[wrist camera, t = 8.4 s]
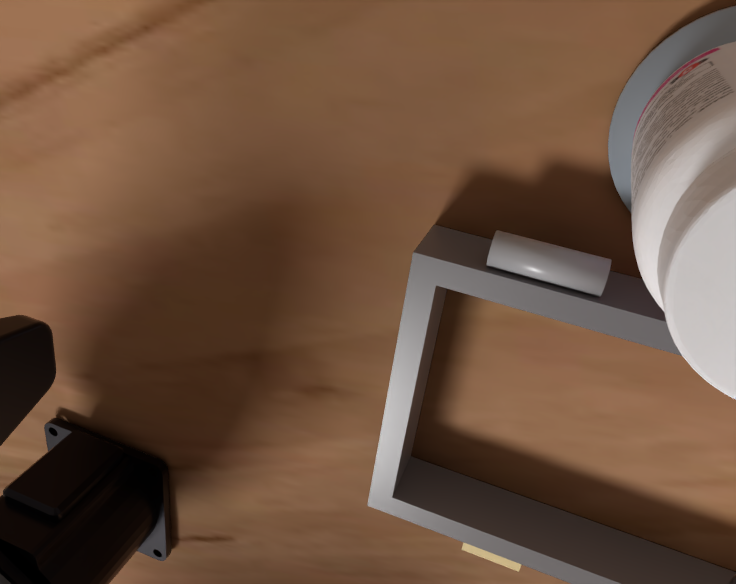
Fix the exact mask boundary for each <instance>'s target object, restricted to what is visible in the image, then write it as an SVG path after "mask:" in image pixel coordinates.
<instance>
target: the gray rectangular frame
mask: <svg viewBox="0 0 736 584" xmlns="http://www.w3.org/2000/svg"><path fill="white" fill-rule="evenodd" d="M611 261H612V260H611V259H608V258H604V257H600V256H596V255H592V254H588V253H584V252H580V251H577V250H573V249H569V248H565V247H561V246H557V245H553V244H549V243H546V242H542V241H538V240H534V239H530V238H526V237H522V236H519V235H515V234H511V233H507V232H503V231H499V230H496V232H495V235H494V238H493V240H491V239H487V238H483V237H480V236H476V235H472V234H468V233H464V232H461V231H457V230H453V229H449V228H445V227H442V226H438V225H433V227H432V228H431V229H430V231H429V232H428V233H427V235H426V236H425V237H424V239H423V240H422V241H421V243H420V244H419V245H418V247H417V248H416V249H415V250H414V252H413V256H412V262H411V267H410V273H409V278H408V284H407V289H406V295H405V301H404V306H403V312H402V317H401V323H400V328H399V334H398V339H397V345H396V350H395V356H394V361H393V367H392V373H391V378H390V384H389V389H388V395H387V400H386V406H385V411H384V417H383V422H382V428H381V433H380V439H379V444H378V450H377V456H376V461H375V467H374V472H373V478H372V483H371V489H370V494H369V500H368V505H367V506H370V507H373V508H375V509H378V510H380V511H383V512H386V513H388V514H391V515H393V516H396V517H399V518H401V519H404V520H407V521H409V522H412V523H414V524H417V525H420V526H422V527H425V528H427V529H430V530H433V531H435V532H438V533H440V534H443V535H446V536H448V537H451V538H454V539H456V540H459V541H461V542H464V543H463V547H462V550H464V551H466V552H469V553H472V554H474V555H477V556H479V557H482V558H485V559H487V560H490V561H492V562H495V563H498V564H500V565H503V566H505V567H508V568H510V569H513V570H516V571H518V572H519V570H520V567H521V565H524V566H527V567H529V568H532V569H535V570H537V571H540V572H542V573H545V574H548V575H550V576H553V577H555V578H558V579H561V580H563V581H566V582H568V583H571V584H728V583H729V582H730V580H731V579H732V578H733V576H734V575H736V572H734V571H731V570H728V569H725V568H723V567H720V566H717V565H714V564H711V563H709V562H706V561H703V560H700V559H697V558H695V557H692V556H689V555H686V554H683V553H681V552H678V551H675V550H672V549H669V548H667V547H664V546H661V545H658V544H655V543H653V542H650V541H647V540H644V539H641V538H639V537H636V536H633V535H630V534H627V533H625V532H622V531H619V530H616V529H613V528H611V527H608V526H605V525H602V524H599V523H597V522H594V521H591V520H588V519H585V518H583V517H580V516H577V515H574V514H571V513H569V512H566V511H563V510H560V509H557V508H555V507H552V506H549V505H546V504H543V503H541V502H538V501H535V500H532V499H529V498H527V497H524V496H521V495H518V494H515V493H513V492H510V491H507V490H504V489H501V488H498V487H496V486H493V485H490V484H487V483H484V482H482V481H479V480H476V479H473V478H470V477H468V476H465V475H462V474H459V473H456V472H454V471H451V470H448V469H445V468H442V467H440V466H437V465H434V464H431V463H428V462H426V461H423V460H420V459H417V458H414V457H412V456H411V453H412V448H413V444H414V439H415V434H416V430H417V425H418V421H419V416H420V411H421V407H422V402H423V398H424V393H425V388H426V384H427V379H428V375H429V370H430V365H431V361H432V356H433V351H434V347H435V342H436V338H437V333H438V328H439V324H440V319H441V315H442V310H443V305H444V301H445V296H446V292H447V289H450V290H454V291H457V292H461V293H464V294H468V295H471V296H475V297H478V298H482V299H485V300H489V301H492V302H496V303H499V304H503V305H506V306H510V307H513V308H517V309H520V310H524V311H527V312H531V313H534V314H538V315H541V316H545V317H548V318H552V319H555V320H559V321H562V322H566V323H569V324H573V325H576V326H580V327H583V328H587V329H590V330H594V331H597V332H601V333H604V334H607V335H611V336H614V337H618V338H621V339H625V340H628V341H632V342H635V343H639V344H642V345H646V346H649V347H653V348H656V349H660V350H663V351H667V352H670V353H674V354H677V355H681V353H680V351H679V350H678V348H677V346H676V345H675V343H674V341H673V338H672V336H671V334H670V331H669V328H668V325H667V322H666V318H665V313H664V311H663V310H662V309H661V308H660V306H659V305H658V304H657V302H656V301H655V300H654V298H653V297H652V295H651V294H650V292H649V290H648V289H647V287H646V285H645V283H644V281H643V279H639V278H636V277H632V276H628V275H624V274H620V273H617V272H613V271H610V267H611ZM681 356H682V355H681Z"/></svg>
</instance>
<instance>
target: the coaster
mask: <svg viewBox="0 0 736 584" xmlns="http://www.w3.org/2000/svg"><path fill="white" fill-rule="evenodd" d="M732 42H736V5H734V6H730V7H727V8H723V9H720V10H716V11H714V12H712V13H709V14H707V15H704V16H702V17H699V18H697V19H696V20H694V21H692V22H690V23H688V24H686V25H685V26H683V27H681V28H680V29H678V30H677V31H675V32H674V33H672V34H671V35H670V36H668V37H667V38H665V39H664V40H663V41H662V42H661V43H660V44H658V45H657V46H656V47H655V48H654V49H653V50H652V51H651V52H650V53H649V54H648V55H647V56H646V57H645V58H644V59H643V61H642V62H641V63H640V64H639V65H638V66H637V68H636V69H635V71H634V72H633V73H632V75H631V76H630V78H629V79H628V81H627V83H626V85H625V86H624V88H623V90H622V92H621V94H620V96H619V99H618V101H617V104H616V106H615V109H614V112H613V116H612V120H611V125H610V131H609V141H608V156H609V164H610V170H611V175H612V178H613V181H614V184H615V187H616V189H617V191H618V193H619V195H620V197H621V199H622V201H623V202H624V204H625V205H626V207H627V208H628V209H629V211H630V212H632V201H631V199H632V195H631V158H632V147H633V139H634V134H635V130H636V126H637V123H638V120H639V118H640V116H641V114H642V112H643V110H644V108H645V106H646V104H647V103H648V101H649V100H650V98H651V97H652V95H653V94H654V92H655V91H656V90H657V89H658V88H659V86H660V85H661V84H662V83H663V82H664V81H665V80H666V79H667V78H668V77H669V76H670V75H671V74H673V73H674V72H675V71H676V70H677V69H679V68H680V67H681V66H683V65H684V64H685V63H687V62H688V61H690V60H692V59H693V58H695V57H696V56H698V55H700V54H702V53H704V52H706V51H708V50H711V49H713V48H716V47H718V46H721V45H724V44H728V43H732Z"/></svg>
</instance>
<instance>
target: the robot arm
mask: <svg viewBox="0 0 736 584" xmlns="http://www.w3.org/2000/svg"><path fill="white" fill-rule="evenodd" d="M55 376H56V363H55V354H54V345H53V336H52V330H51V329H50V327H49V325H47V324H46V323H44V322H42V321H39V320H36V319H34V318H31V317H28V316H24V315H16V316H10V317H5V318H0V446H1V445H2V444H3V442H4V441H5V440H6V439H7V438H8V437H9V435H10V434H11V433H12V432H13V431H14V430H15V428H16V427H17V426H18V425H19V424H20V423H21V421H22V420H23V419H24V418H25V417H26V416H27V414H28V413H29V412H30V411H31V410H32V409H33V407H34V406H35V405H36V404H37V403H38V402H39V400H40V399H41V398H42V397H43V396H44V395H45V393H46V392H47V391H48V390H49V388H50V387H51V385H52V384H53V382H54V379H55ZM44 429H45V435H46V441H47V447H48V452H47V453H46V454H45V455H44V456H42V457H41V458H40V459H39V460H38V461H36V462H35V463H34V464H33V465H32V466H30V467H29V468H28V469H27V470H26V471H25V472H23V473H22V474H21V475H20V476H19V477H17V478H16V479H15V480H14V481H13V482H11V483H10V484H9V485H8V486H7V487H5V489H4V490H3V495H2V496H0V584H109V583H110V582H111V581H112V579H113V578H114V577H115V576H116V575H117V574H118V572H119V571H120V570H121V569H122V568H123V566H124V565H125V564H126V563H127V562H128V560H129V559H130V558H131V557H132V556H133V554H134V553H135V552H136V551H139V552H141V553H143V554H146V555H148V556H150V557H152V558H155V559H157V560H160V561H164V560H166V558H167V557H168V556H169V555H170V553H171V533H170V507H169V481H168V468H167V466H166V464H165V463H164V462H163V461H162V460H160V459H158V458H156V457H154V456H151V455H149V454H146V453H143V452H141V451H138V450H136V449H133V448H131V447H128V446H126V445H123V444H121V443H118V442H116V441H113V440H111V439H108V438H106V437H103V436H101V435H98V434H96V433H93V432H91V431H88V430H86V429H83V428H81V427H78V426H76V425H73V424H71V423H68V422H66V421H63V420H60V419H58V418H53V419H51V420H50V421H49V422H48V423H46V424H45V427H44ZM728 584H736V575H734V576H733V578H732V579H731V580H730V582H729V583H728Z"/></svg>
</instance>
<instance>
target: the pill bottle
mask: <svg viewBox="0 0 736 584" xmlns="http://www.w3.org/2000/svg"><path fill="white" fill-rule="evenodd" d="M631 195H632V199H631V201H632V212H631V213H632V237H633V245H634V251H635V256H636V260H637V264H638V268H639V271H640V273H641V276H642V278H643V281H644V283H645V285H646V287H647V289H648V290H649V292H650V294H651V295H652V297H653V298H654V300H655V301H656V302H657V304H658V305H659V306H660V308H661V309H662V310H663V311H664V313H665V318H666V322H667V325H668V328H669V331H670V334H671V336H672V338H673V341H674V343H675V345H676V346H677V348H678V350H679V351H680V353H681V355H682V356H683V357H684V358H685V360H686V361H687V362H688V363H689V364H690V366H691V367H692V368H693V369H694V370H695V371H696V372H697V373H698V374H699V375H700V376H701V377H702V378H703V379H705V380H706V381H707V382H708V383H710V384H711V385H712V386H714V387H715V388H717V389H718V390H720V391H721V392H723V393H724V394H726V395H728V396H729V397H731V398H734V399H736V42H732V43H728V44H724V45H721V46H718V47H716V48H713V49H711V50H708V51H706V52H704V53H702V54H700V55H698V56H696V57H695V58H693V59H692V60H690V61H688V62H687V63H685V64H684V65H683V66H681V67H680V68H679V69H677V70H676V71H675V72H674V73H673V74H671V75H670V76H669V77H668V78H667V79H666V80H665V81H664V82H663V83H662V84H661V85H660V86H659V88H658V89H657V90H656V91H655V92H654V94H653V95H652V97H651V98H650V100H649V101H648V103H647V104H646V106H645V108H644V110H643V112H642V114H641V116H640V118H639V120H638V123H637V126H636V130H635V134H634V139H633V147H632V158H631Z"/></svg>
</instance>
